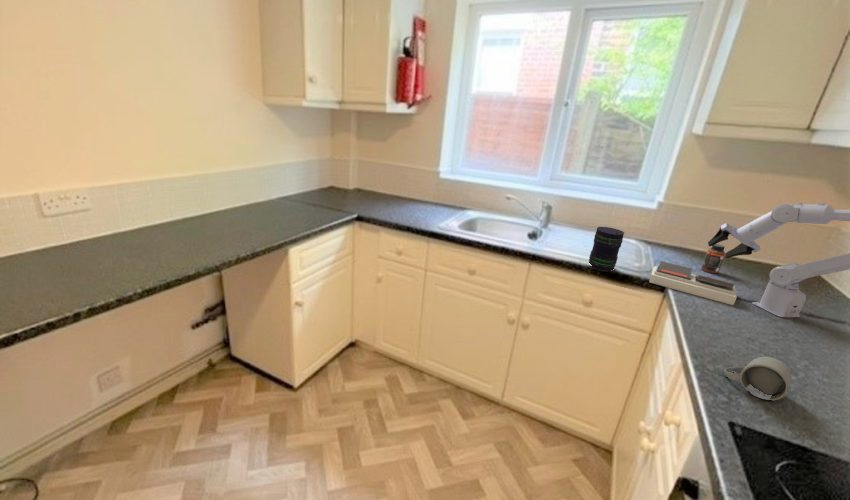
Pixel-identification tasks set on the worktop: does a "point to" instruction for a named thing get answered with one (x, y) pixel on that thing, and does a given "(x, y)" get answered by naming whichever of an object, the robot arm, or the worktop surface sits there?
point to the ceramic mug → (763, 376)
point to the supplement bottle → (713, 259)
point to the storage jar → (606, 248)
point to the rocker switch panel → (695, 286)
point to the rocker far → (674, 270)
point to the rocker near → (714, 280)
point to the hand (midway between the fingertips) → (717, 250)
